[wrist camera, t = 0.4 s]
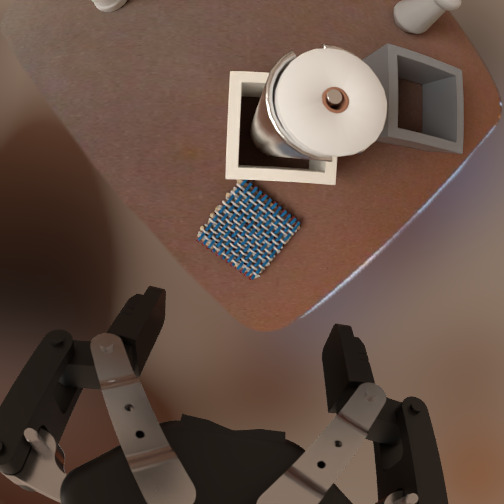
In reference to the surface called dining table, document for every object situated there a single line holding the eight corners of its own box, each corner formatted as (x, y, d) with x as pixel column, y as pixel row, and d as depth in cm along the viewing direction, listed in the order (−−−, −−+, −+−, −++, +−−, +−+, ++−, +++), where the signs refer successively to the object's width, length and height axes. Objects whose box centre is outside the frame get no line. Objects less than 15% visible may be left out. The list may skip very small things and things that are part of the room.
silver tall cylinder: (305, 113, 35) (401, 62, 12) (295, 161, 37) (382, 177, 14) (255, 102, 35) (279, 22, 11) (245, 151, 37) (253, 145, 13)
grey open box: (360, 61, 33) (387, 43, 25) (428, 79, 34) (461, 70, 25) (359, 138, 37) (387, 136, 28) (427, 151, 37) (462, 154, 29)
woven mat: (192, 236, 41) (190, 240, 39) (241, 173, 38) (241, 174, 36) (253, 280, 43) (253, 286, 41) (302, 222, 41) (305, 226, 39)
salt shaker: (391, 34, 31) (438, 3, 19) (384, 3, 30) (425, -32, 17) (423, 40, 31) (473, 17, 19) (415, 10, 30) (461, -18, 17)
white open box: (232, 87, 34) (230, 71, 26) (321, 94, 35) (340, 81, 27) (228, 173, 38) (225, 179, 30) (317, 178, 38) (335, 185, 31)
